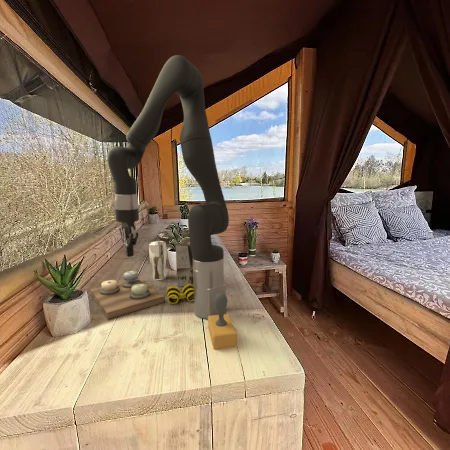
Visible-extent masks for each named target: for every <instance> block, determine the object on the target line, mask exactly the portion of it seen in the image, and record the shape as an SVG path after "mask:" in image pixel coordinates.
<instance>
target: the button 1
mask: <svg viewBox="0 0 450 450" xmlns="http://www.w3.org/2000/svg"><path fill="white" fill-rule="evenodd" d="M117 283H118V281H117V280H115V279H108V280H103V281H102V282H101V286H100V287H102V290H103V291H111V290H114V289H116V288H117Z"/></svg>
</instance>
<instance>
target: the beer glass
mask: <svg viewBox="0 0 450 450" xmlns="http://www.w3.org/2000/svg"><path fill="white" fill-rule="evenodd" d="M167 254H168V253H167V243H166V241H164V240H155V241H151V242H149V243H148V255H149V256H148V257H149V262H150V265H151V266H150V267H151V271H152V272H151V280H153V281H154V282H155V281H157V282H158V281H159V282H160V281H163V280H166V279H167V278H168V275H167V271H166V265H167V257H168V256H167Z"/></svg>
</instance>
